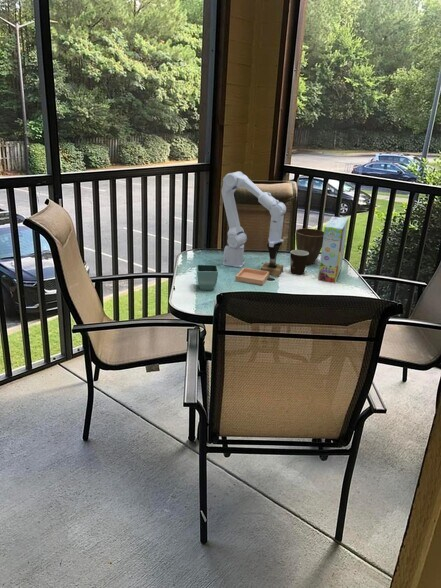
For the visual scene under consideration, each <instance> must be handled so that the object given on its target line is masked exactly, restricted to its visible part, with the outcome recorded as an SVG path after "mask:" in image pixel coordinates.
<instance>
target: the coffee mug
mask: <svg viewBox="0 0 441 588" xmlns="http://www.w3.org/2000/svg"><path fill="white" fill-rule="evenodd" d="M289 253H290V254H289V255H290V257H289V259H290V262H289V264H290V265H289V266H290V268H289V269H290V273H291V274H292V275H295V276H302V275H304V274H305V271H306V270H305V269H306V266H307V265H306V263H307V259H308V255H309V253H308V252H306V251H303V250H297V249H293V250H291V251H290V252H289Z"/></svg>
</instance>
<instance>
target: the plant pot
mask: <svg viewBox="0 0 441 588" xmlns="http://www.w3.org/2000/svg"><path fill="white" fill-rule="evenodd" d="M323 236H324V230H320V229H315V228H298V229H296V230H295V243H296V250H303V251H306V252H308V253H309V255H308V259H307V263H306V266H307V265H308V266H311V265H315V263H316V262H317V261H316V260H317V259H318V256H319V255H320V253H321V252H322V245H323Z"/></svg>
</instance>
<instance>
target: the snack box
mask: <svg viewBox="0 0 441 588" xmlns="http://www.w3.org/2000/svg"><path fill="white" fill-rule="evenodd" d="M348 223H349V218H348V217H339V216H331V218H329V221H328V222H327V223H326V225H325V226H324V229H323V232H324V236H323V245H322V248H321V252H320V253H321V254H320V262H319V271H318V278H317V280H318V281H322V282H329V283H335V284H336V281H337V279H338V276H339V275H340V273H341V270H342V269H343V268H342V266H343V261H344V251H345V247H346V246H345V245H346V239H347V231H348Z"/></svg>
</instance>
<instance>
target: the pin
mask: <svg viewBox="0 0 441 588" xmlns="http://www.w3.org/2000/svg"><path fill="white" fill-rule="evenodd" d="M277 256H278V253H277V252H276V256H275V259H270V258H269V262H268V263H269V267H270V268H275V266H276V264H277Z"/></svg>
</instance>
